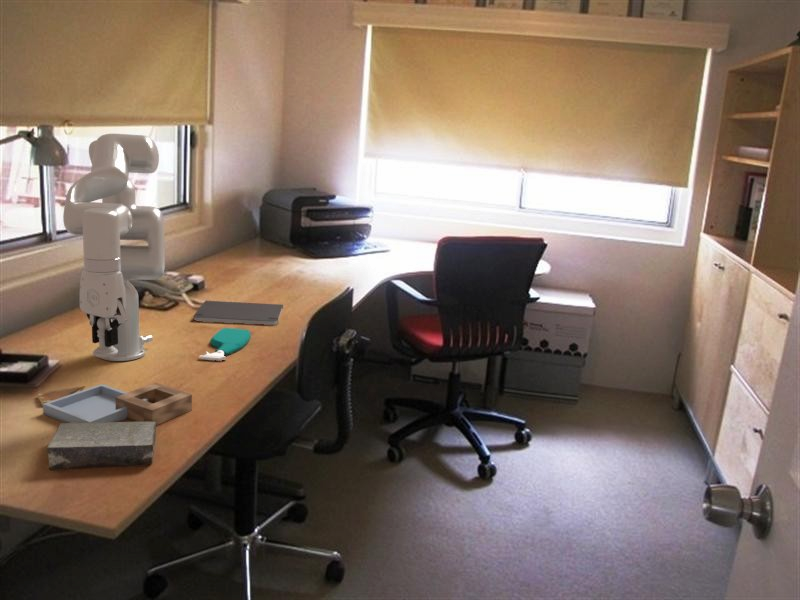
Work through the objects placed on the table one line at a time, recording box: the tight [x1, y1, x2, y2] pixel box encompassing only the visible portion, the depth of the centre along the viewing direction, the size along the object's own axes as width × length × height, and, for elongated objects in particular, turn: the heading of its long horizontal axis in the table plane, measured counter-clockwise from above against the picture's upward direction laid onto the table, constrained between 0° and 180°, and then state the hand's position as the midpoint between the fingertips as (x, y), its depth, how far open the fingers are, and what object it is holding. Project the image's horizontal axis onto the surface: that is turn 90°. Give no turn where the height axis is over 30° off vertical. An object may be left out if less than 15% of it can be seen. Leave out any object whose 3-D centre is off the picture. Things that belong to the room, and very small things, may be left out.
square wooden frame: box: [115, 382, 193, 426], centre depth 168 cm, size 12×12×4 cm
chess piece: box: [92, 317, 118, 359], centre depth 162 cm, size 5×5×9 cm
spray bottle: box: [198, 327, 252, 362], centre depth 216 cm, size 3×11×24 cm
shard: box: [37, 385, 86, 407], centre depth 172 cm, size 11×8×2 cm
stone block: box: [46, 421, 157, 471], centre depth 147 cm, size 14×20×5 cm
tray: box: [42, 383, 148, 423], centre depth 166 cm, size 16×16×2 cm
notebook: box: [193, 300, 284, 326], centre depth 251 cm, size 22×2×28 cm
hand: (105, 342), depth 163 cm, fingers closed on chess piece, 3 cm apart
